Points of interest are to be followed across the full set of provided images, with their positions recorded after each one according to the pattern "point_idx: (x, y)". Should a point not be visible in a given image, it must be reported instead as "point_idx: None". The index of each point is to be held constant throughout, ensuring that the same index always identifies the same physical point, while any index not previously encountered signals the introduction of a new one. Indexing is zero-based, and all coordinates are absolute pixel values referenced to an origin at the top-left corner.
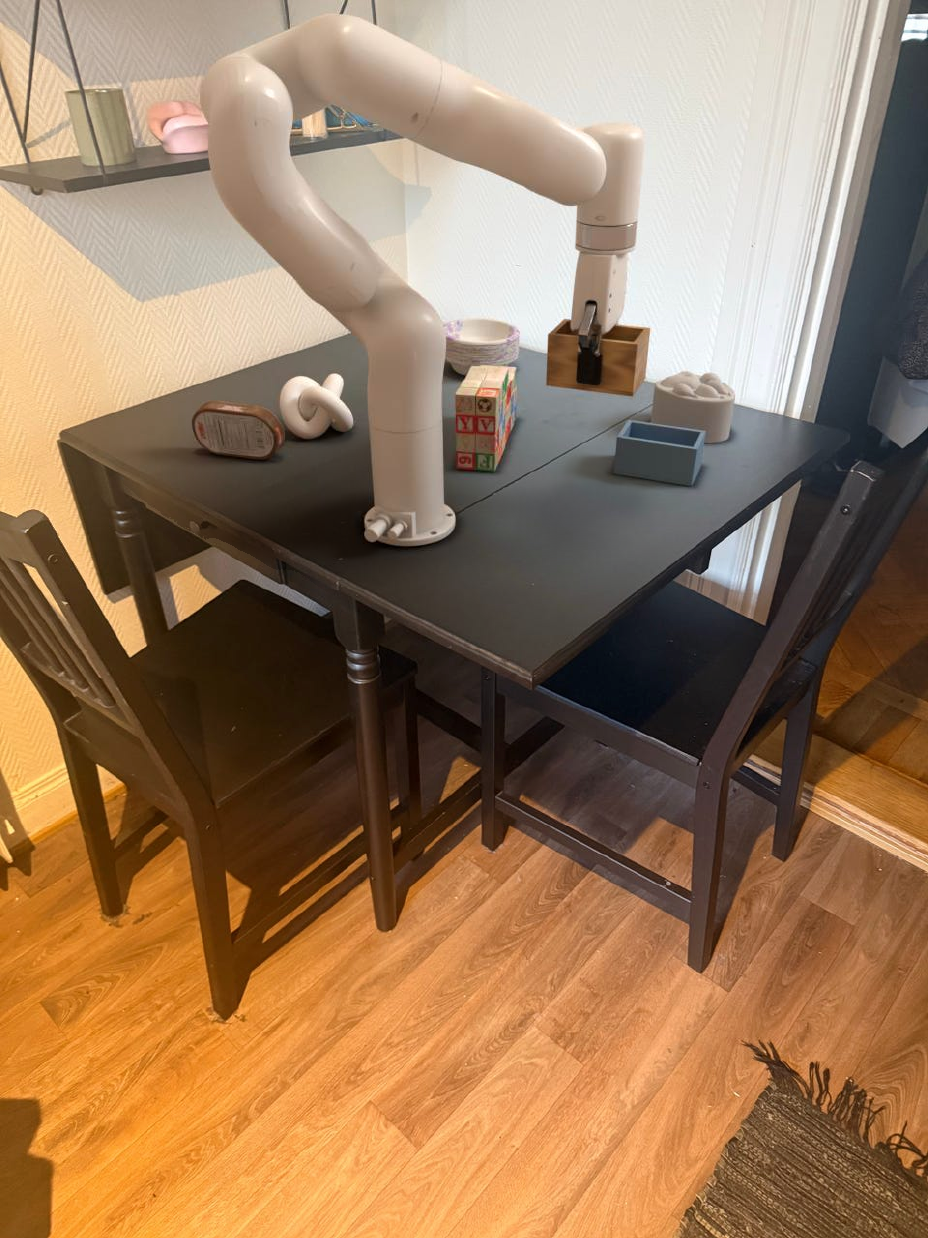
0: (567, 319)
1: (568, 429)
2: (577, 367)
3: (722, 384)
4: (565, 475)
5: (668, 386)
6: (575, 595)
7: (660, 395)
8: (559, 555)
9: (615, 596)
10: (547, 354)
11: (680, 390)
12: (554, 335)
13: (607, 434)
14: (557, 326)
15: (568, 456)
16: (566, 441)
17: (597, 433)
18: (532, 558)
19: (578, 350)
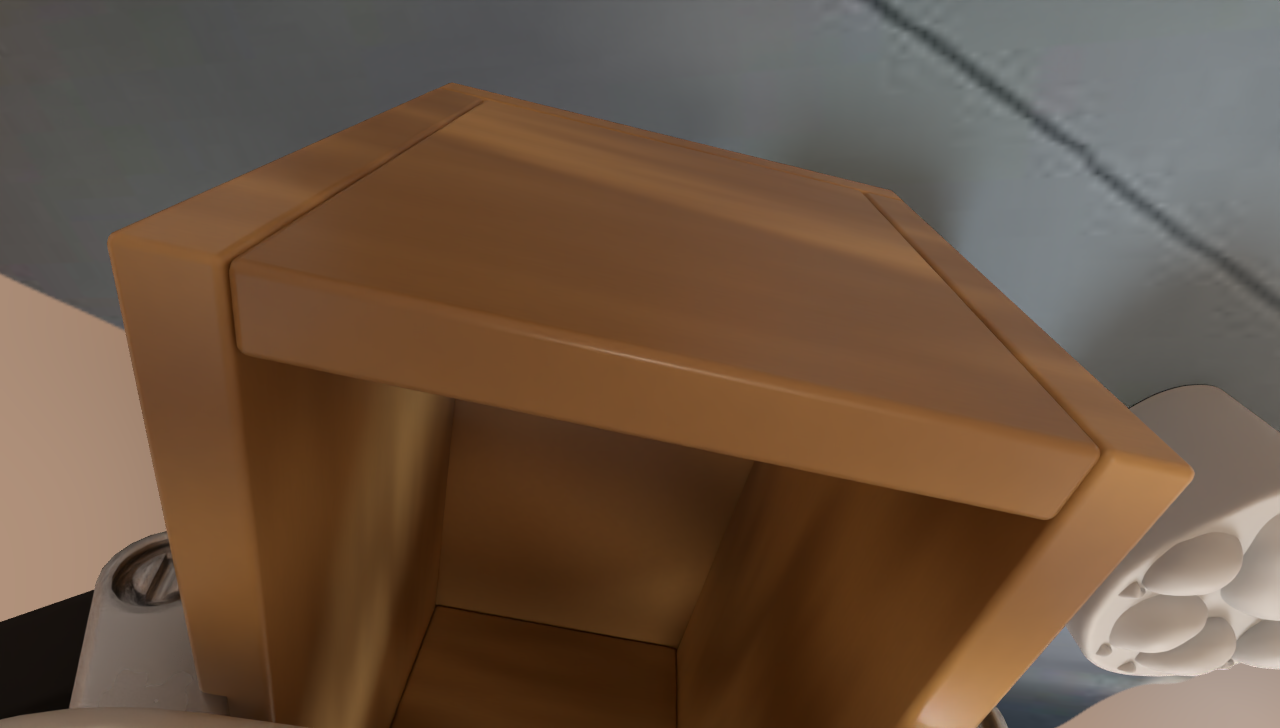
0: (1131, 522)
1: (1250, 84)
2: None
3: (1182, 674)
4: (783, 104)
5: (1270, 525)
6: (16, 190)
7: (1235, 483)
8: (200, 127)
9: (77, 290)
10: (320, 142)
11: (1181, 565)
12: (136, 356)
13: (1151, 246)
14: (680, 383)
15: (960, 104)
16: (1117, 84)
17: (1171, 209)
18: (137, 35)
19: (104, 572)
